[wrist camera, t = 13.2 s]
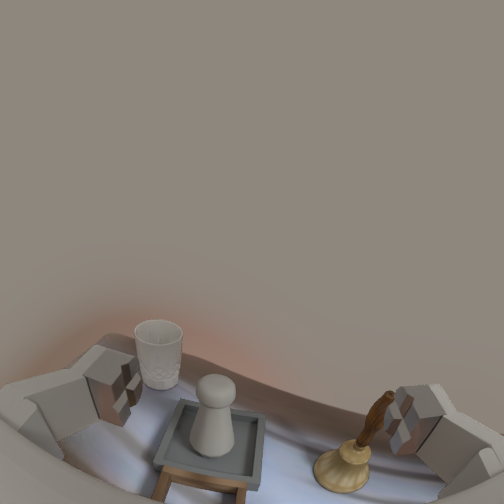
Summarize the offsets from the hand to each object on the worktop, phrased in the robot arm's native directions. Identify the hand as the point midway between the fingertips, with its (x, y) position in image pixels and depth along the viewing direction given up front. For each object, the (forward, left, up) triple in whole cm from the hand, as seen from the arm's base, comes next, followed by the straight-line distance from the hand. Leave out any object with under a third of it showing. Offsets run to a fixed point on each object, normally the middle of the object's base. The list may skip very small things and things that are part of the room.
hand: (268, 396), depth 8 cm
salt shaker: (+4, -17, -28) cm, 33 cm away
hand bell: (-14, -15, -29) cm, 35 cm away
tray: (+4, -18, -28) cm, 33 cm away
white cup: (+16, -30, -29) cm, 44 cm away
